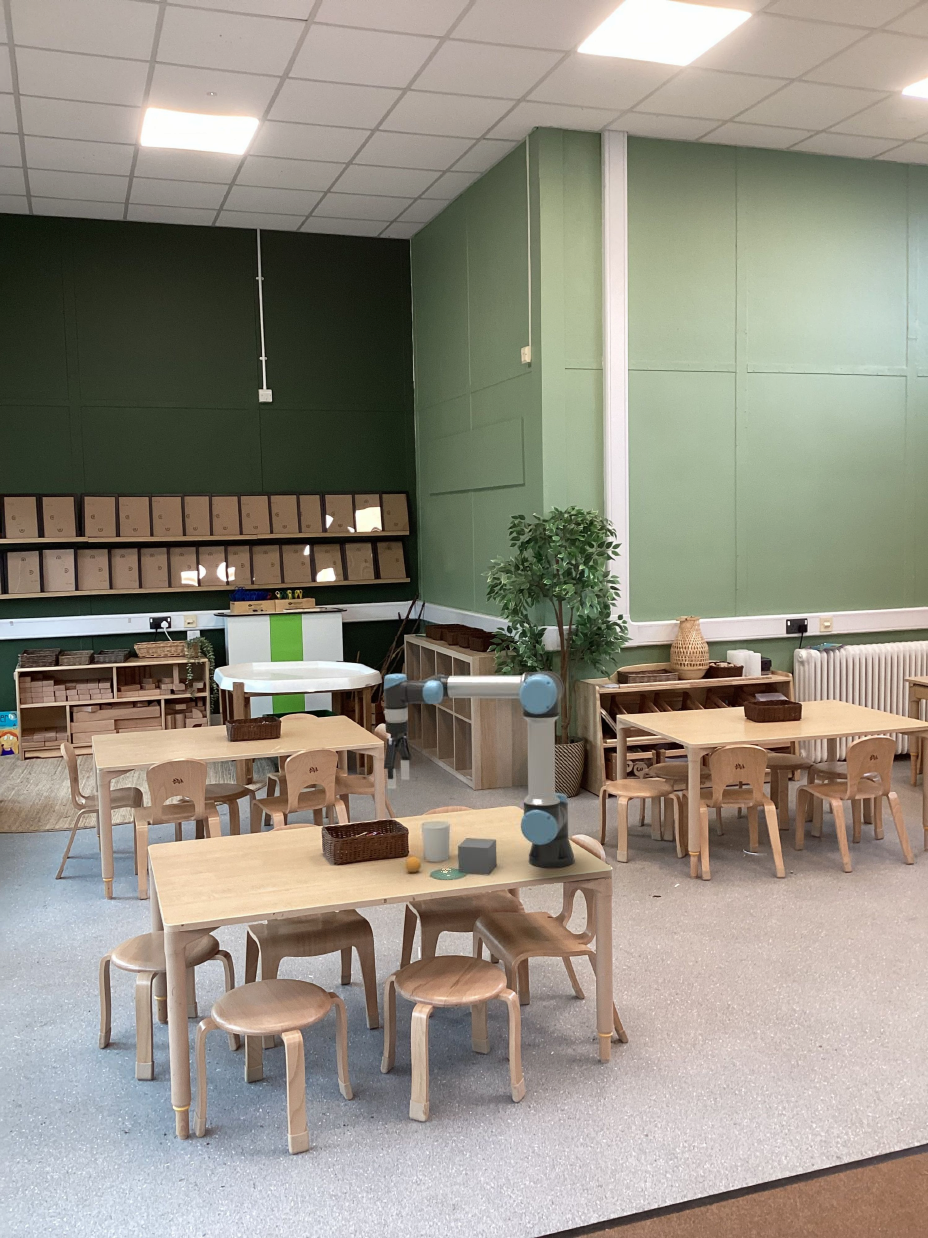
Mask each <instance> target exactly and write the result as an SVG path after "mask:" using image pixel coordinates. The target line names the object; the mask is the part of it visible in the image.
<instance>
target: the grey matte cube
mask: <svg viewBox="0 0 928 1238" xmlns="http://www.w3.org/2000/svg"><path fill="white" fill-rule="evenodd" d="M457 855H458V857H457V859H458V861H457V862H458V869H459V872H461V873H467V875H468V874H469V875H470V874H471V875H488V876H489V875H490V874H491V873H492V872H493V871H494V870H495V868H497V866H498V862H497V861H498V859H497V839H496V838H495V839H494V838H493V839H492V838H475V837H474V838H472V837H467V838H465V839H464V840H463V841H461V843H460V844H459V845H457Z"/></svg>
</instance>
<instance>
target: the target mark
mask: <svg viewBox="0 0 928 1238" xmlns="http://www.w3.org/2000/svg"><path fill="white" fill-rule="evenodd" d="M448 868H449V869H451V870H446V869H445V870H446V871H448V872H447V873H443V871H445V870H442V869H443V868H438V869H435V870H433V871H431V872H430V873H429V876H430V878H433V879H436V880H441V881H442V880H443V881H452V880H453V879H454V880H458V879H463V878H465V877H467V875H468V873H461V872H459V868H455V867H448ZM441 871H442V872H441ZM450 871H451V872H450ZM447 875H450V876H447Z"/></svg>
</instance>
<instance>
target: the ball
mask: <svg viewBox="0 0 928 1238" xmlns="http://www.w3.org/2000/svg"><path fill="white" fill-rule="evenodd" d="M421 866H422V863H421V860H420V859H419V858H418V857H416V856H410V857H409V858H408V859H406V862H405V869H406V870H407V871H408V872H410V873H417V872H418V871H419V870H420V869H421Z"/></svg>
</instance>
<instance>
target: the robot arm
mask: <svg viewBox="0 0 928 1238" xmlns="http://www.w3.org/2000/svg"><path fill="white" fill-rule="evenodd" d="M383 682H384V683H383V694H384V695H383V696H384V698H383V699H384V711H383V714H385V715H384V716H385V717H384V718H385V722H384V723H385V726H384V727H385V733H387V734H390V737H387V738H386V749H385V757H384V764H383V769H384V770H386V779H387V780H386V782H387V789H388V790H389V789H391V790H392V789H393V790H396V789H397V779H396V778H397V775H396V774H397V773H396V768H395V765H396V763H397V757H398V753H399V755H400V757H401V759H400V776H401V777H400V778H401V780H403V781H404V780H405V781H409V780H410V761H411V760H412V752H411V748H410V743H409V739H408V732H409V721H408V719H409V713H408V712H409V711H408V710H409V709H408V704H428V705H432V704H440V703H442V700H443V699H451V698H452V699H455V698H456V699H458V698H459V699H468V698H469V699H519V702H520V704H521V707H522V717H523V718H524V719H525V720H526V722H527V773H528V774H527V793H528V795H526V796H525V798H524V799H523V816H522V818H521V822H520V831H521V834H522V836H523V837H524V838H525V839H526V840H527V841H528V842H529V843H531V847H530V850H529V853H528V862H529V864H531V865H532V866H535V867H541V868H547V869H551V868H552V869H553V868H563V867H567V866H571V865H572V864H574V862H575V854H574V850H573V847H572V844H571V842H570V839H569V808H568V807H569V802H568V800H569V799H568V796H567V795H566V794H565V793H562V792H561V793H560V792H559V793H558V792H556V780H555V779H556V769H555V768H556V764H555V763H556V761H555V758H556V756H555V755H556V754H555V752H556V750H555V746H556V745H555V744H556V743H555V742H556V741H555V735H556V734H555V722H556V720H557V719H558V718H559V717H560V701H561V699H562V698H563V696H564V692H565V687H564V686H565V685H564V682H563V680H562V678H561V677H560V676H559V675H558V674H557V673H556V672H553V671H550V670H541V671H533V672H530V671H527V672H524V673H523V674H522V675H444V674H434V675H432V676H430V677H428V678H426V679H423V680H408V679H407V675H406V674H404V673H392V674H391V673H390V674H386V675H385V676H384V680H383Z"/></svg>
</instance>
